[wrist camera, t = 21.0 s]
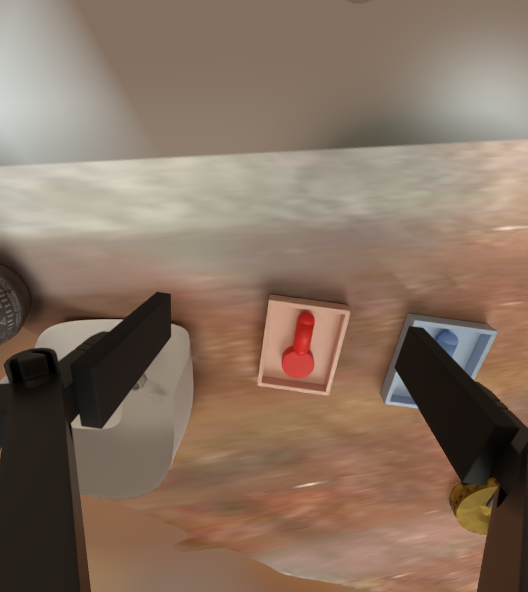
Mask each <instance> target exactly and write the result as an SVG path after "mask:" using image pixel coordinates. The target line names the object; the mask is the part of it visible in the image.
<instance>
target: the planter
mask: <svg viewBox="0 0 528 592" xmlns="http://www.w3.org/2000/svg"><path fill="white" fill-rule="evenodd" d="M30 307H31V295H30V291H29V289H28V287H27V285H26V284H25V282H24V281H23V280H22V278H21V277H20V276H19V275H18V274H17V273H15V272H14V271H13V270H11V269H10V268H8V267H6V266H4V265H1V264H0V345H1V344H3V343H5V342H6V341H8V340H10V339H11V338H12V337H14V336H15V335H16V334H17V333H18V332H19V331H20V329H21V327H22V326H23V324H24V322H25V320H26V317H27V315H28V312H29V310H30Z"/></svg>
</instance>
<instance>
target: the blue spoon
mask: <svg viewBox="0 0 528 592" xmlns="http://www.w3.org/2000/svg"><path fill="white" fill-rule="evenodd" d="M437 342H438V343H439V344H440V346H441V347H442V348H443V349H444V350H445V351H446V352H447V353H448V354H449V355H450V356H451V357H452V356H453V354H454V352H455V349H456V347H457V345H458V337H457V336H456V335H455V334H454V333H452V332H442V333H441V334H440V335H439V336H438V338H437Z"/></svg>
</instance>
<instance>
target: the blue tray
mask: <svg viewBox="0 0 528 592" xmlns="http://www.w3.org/2000/svg"><path fill="white" fill-rule="evenodd" d="M409 326H414V327H422V328H424V329H425V330H426V331H427V332H428V333H429V334H430V335H431V336H432V337H433V338H434V339H435V340H436V341H437V338H438V336H439V335H440V334H441V333H442V332H452V333H454V334H455V335H456V336H457V337H458V345H457V347H456V349H455V352H454V354H453V356H452V358H453V359H454V360H455V361H456V362H457V363H458V364H459V365H460V366H461V367H462V368H463V370H464V371H465V372H466V373H467V374H468V375H469V376H470V377H471V378H472V379H473V380H474V379H475V377H476V375H477V373H478V371H479V369H480V367H481V365H482V363H483V361H484V359H485V357H486V355H487V353H488V351H489V349H490V347H491V345H492V343H493V341H494V339H495V337H496V335H497V333H498V331H497V330H495V329H494V328H492V327H491V326H489V325H488V324H483V323H475V322H468V321H461V320H454V319H446V318H439V317H432V316H425V315H417V314H410V313H408V315H407V318H406V320H405V323H404V326H403V329H402V332H401V335H400V338H399V341H398V343H397V346H396V349H395V352H394V355H393V358H392V361H391V364H390V366H389V369H388V372H387V375H386V378H385V381H384V384H383V387H382V389H381V392H380V395H381V397H382V399H383V402H384V404H390V405H397V406H404V407H411V408H418V407H417V405H416V404H415V402H414V400H413V399H412V397H411V395H410V393H409V392H408V390H407V388H406V387H405V385H404V383H403V382H402V380H401V378H400V377H399V375H398V373H397V371H396V370H395V368H394V367H395V364H396V361H397V358H398V356H399V353H400V350H401V347H402V344H403V342H404V339H405V336H406V333H407V330H408V328H409Z"/></svg>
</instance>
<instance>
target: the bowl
mask: <svg viewBox="0 0 528 592" xmlns="http://www.w3.org/2000/svg"><path fill="white" fill-rule="evenodd" d="M121 321H123V320H121V319H99V320H80V321H71V322H65V323H60V324H57V325H54V326H51V327H50V328H48V329H46V330H45V331H44V332H43V333H42V334H41V335H40V336H39V338H38V340H37V342H36V345H35V348H50V349H53V350H55V352H56V353H57V357H58V361H59V360H61V359H62V358H63V357H65V356H66V355H67V354H68V353H70V352H71V351H72V350H75V348H76V347H77V346H79V345H80V344H82V343H83V342H84V341H85V340H87V339H88V338H89V337H90V336H92V335H95V334H97V333H99V332H102V331H106V332H109V331H111V330H112V329H113V328H114V327H115V326H117V325H118V324H119V323H120V322H121ZM5 383H9V381H8V377H7V375H6V376H5V377H4V378H3V379H2V380H1V381H0V384H5ZM193 385H194V382H193V366H192V356H191V347H190V339H189V334H188V332H187V331H186V330H185V329H184V328H182V327H180V326H177V325H174V324H171V338H170V339H169V341H168V342H167V343H166V344H165V346H164V347H163V348H162V350H161V351H160V352H159V354H158V355H157V356H156V358H155V359H154V360H153V362H152V363H151V364H150V366H149V367H148V368H147V370H146V371H145V372H144V374H143V375H142V376H141V378H140V379H139V380H138V382H137V383H136V384H135V386H134V387H133V388H132V390H131V391H130V392H129V394H128V395H127V396H126V398H125V399H124V400H123V402H122V403H121V404H120V406H119V407H118V408H117V410H116V411H115V412H114V414H113V415H112V416H111V417H110V419H109V420H108V421H107V423H106V424H105V425H104V427H103V428H102V429H97V428H91V427H84V426H81V421H80V416H79V415H78V416H77V417H76V418H75V419H74V420H73V422H72V423H71V425H72V430H73V438H74V447H75V456H76V465H77V474H78V483H79V491H80V494H82V495H87V496H90V497H98V498H105V499H124V498H133V497H137V496H141V495H144V494H147V493H149V492H151V491H153V490H155V489H156V488H157V487H158V486H159V485H160V484H161V483H162V482H163V481H164V479H165V477H166V475H167V474H168V472H169V469H170V467H171V464H172V462H173V459H174V457H175V454H176V452H177V449H178V447H179V444H180V442H181V440H182V437H183V435H184V432H185V430H186V427H187V424H188V421H189V417H190V414H191V410H192V403H193Z"/></svg>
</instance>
